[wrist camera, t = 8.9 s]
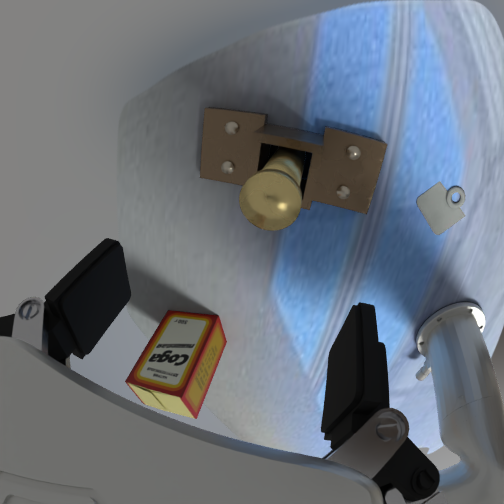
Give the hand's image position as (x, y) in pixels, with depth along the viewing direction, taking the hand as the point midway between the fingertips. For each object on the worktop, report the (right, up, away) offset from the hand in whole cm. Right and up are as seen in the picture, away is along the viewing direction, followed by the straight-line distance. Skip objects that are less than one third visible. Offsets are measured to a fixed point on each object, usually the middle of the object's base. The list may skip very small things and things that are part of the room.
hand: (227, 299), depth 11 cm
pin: (+5, +12, +18) cm, 22 cm away
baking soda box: (-8, -11, +37) cm, 40 cm away
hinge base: (+5, +12, +18) cm, 22 cm away
